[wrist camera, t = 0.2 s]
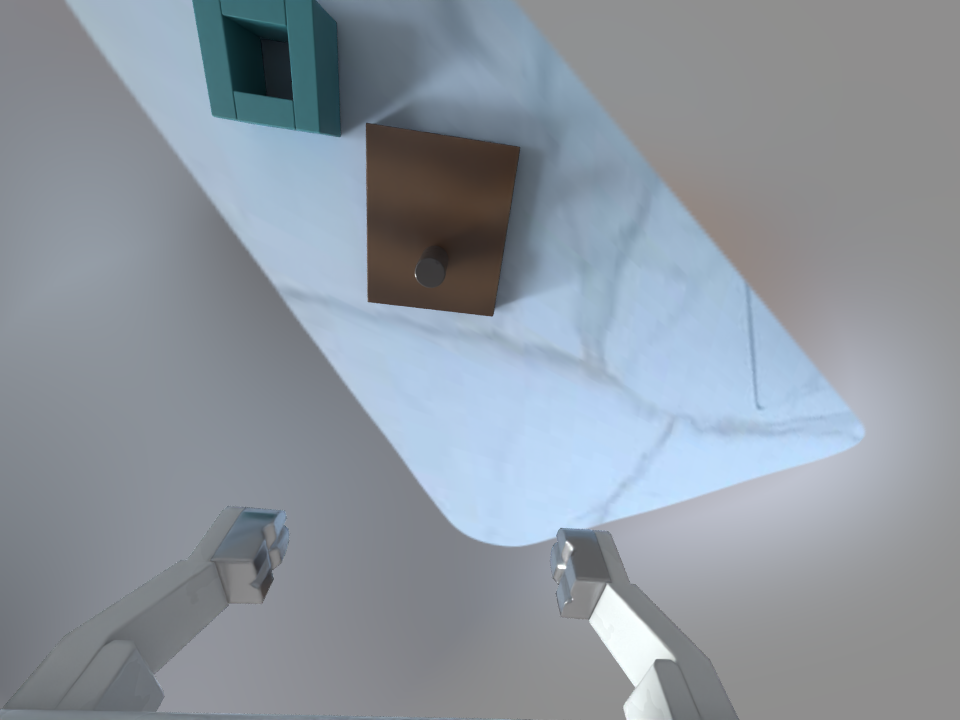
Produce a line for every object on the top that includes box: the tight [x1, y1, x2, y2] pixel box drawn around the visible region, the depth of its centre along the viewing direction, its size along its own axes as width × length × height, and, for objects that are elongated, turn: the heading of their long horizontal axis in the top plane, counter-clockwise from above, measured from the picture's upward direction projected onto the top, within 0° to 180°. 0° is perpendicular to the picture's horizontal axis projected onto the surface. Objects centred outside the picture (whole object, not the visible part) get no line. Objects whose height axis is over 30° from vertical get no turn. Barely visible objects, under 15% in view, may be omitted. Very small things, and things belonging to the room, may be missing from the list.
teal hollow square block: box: [192, 0, 341, 137], centre depth 22 cm, size 6×6×4 cm
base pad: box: [366, 123, 520, 316], centre depth 25 cm, size 12×10×6 cm
